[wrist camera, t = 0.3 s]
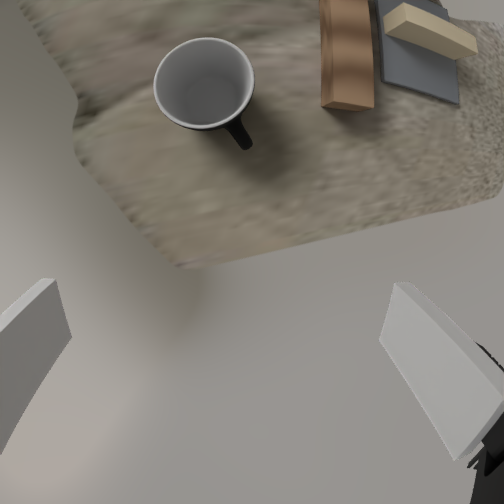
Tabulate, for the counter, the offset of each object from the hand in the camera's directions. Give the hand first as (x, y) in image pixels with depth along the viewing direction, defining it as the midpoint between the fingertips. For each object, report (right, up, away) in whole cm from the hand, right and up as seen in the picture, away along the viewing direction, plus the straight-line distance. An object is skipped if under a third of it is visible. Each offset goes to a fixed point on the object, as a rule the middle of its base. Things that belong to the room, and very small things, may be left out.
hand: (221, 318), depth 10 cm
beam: (+12, +30, +19) cm, 37 cm away
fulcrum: (+25, +33, +18) cm, 46 cm away
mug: (-3, +19, +22) cm, 29 cm away
